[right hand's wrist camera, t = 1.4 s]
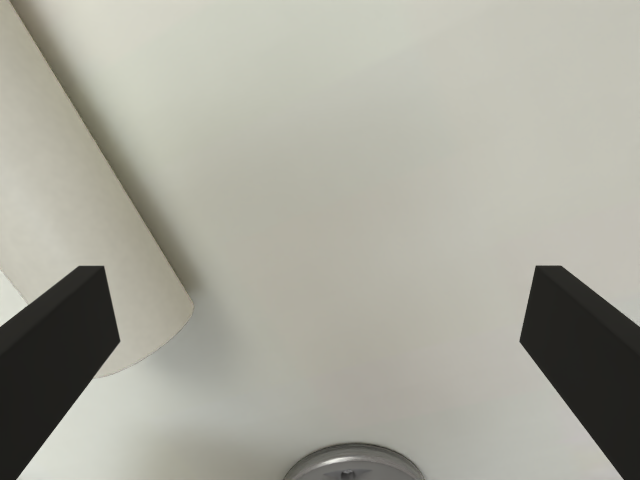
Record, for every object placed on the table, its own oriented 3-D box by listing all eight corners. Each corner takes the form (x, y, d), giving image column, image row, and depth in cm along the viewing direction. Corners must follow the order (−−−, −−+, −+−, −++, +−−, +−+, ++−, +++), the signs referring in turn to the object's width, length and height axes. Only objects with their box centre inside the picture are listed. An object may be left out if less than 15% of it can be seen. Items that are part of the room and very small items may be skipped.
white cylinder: (207, 286, 33) (171, 353, 25) (117, 320, 34) (57, 394, 26) (-8, -82, 24) (-171, -159, 16) (-120, -18, 25) (-322, -60, 17)
